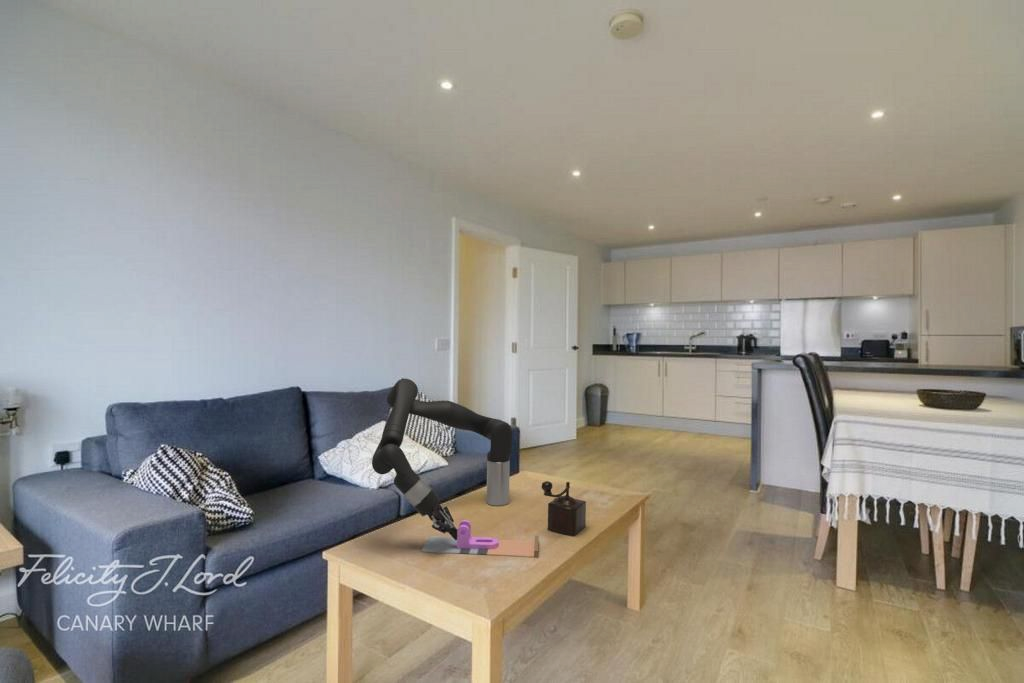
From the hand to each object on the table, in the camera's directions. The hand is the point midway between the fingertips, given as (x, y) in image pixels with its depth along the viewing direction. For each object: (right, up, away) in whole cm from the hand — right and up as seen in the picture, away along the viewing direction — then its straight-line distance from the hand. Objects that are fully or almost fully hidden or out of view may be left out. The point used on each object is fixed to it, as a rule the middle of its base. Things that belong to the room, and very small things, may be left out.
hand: (458, 537), depth 151 cm
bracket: (+6, -3, +1) cm, 7 cm away
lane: (+8, -3, +1) cm, 9 cm away
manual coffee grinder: (+35, -4, +15) cm, 38 cm away
